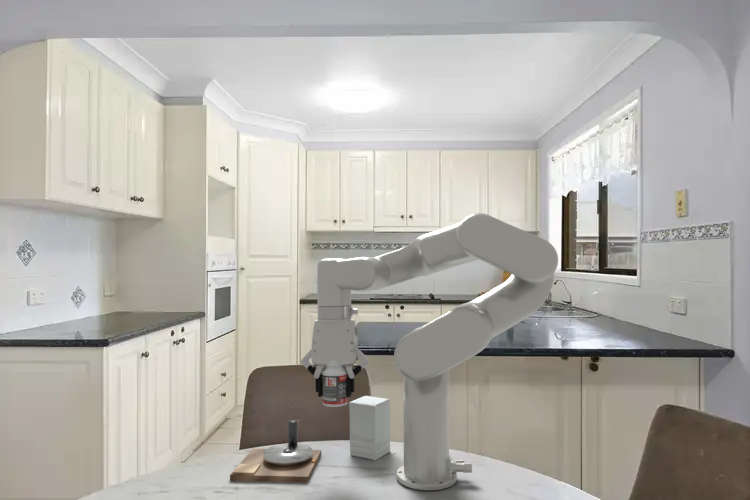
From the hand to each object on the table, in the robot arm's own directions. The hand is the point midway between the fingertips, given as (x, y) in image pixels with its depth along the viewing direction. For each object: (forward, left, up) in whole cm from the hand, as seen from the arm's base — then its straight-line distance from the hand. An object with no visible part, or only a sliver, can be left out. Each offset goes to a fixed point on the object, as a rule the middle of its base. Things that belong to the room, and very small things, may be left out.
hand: (335, 394), depth 112 cm
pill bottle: (0, 0, -2) cm, 2 cm away
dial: (+11, -2, -14) cm, 18 cm away
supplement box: (-7, -10, -16) cm, 21 cm away
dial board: (+13, 0, -16) cm, 21 cm away
